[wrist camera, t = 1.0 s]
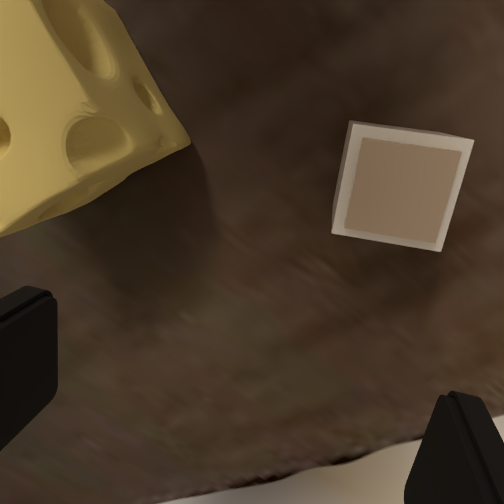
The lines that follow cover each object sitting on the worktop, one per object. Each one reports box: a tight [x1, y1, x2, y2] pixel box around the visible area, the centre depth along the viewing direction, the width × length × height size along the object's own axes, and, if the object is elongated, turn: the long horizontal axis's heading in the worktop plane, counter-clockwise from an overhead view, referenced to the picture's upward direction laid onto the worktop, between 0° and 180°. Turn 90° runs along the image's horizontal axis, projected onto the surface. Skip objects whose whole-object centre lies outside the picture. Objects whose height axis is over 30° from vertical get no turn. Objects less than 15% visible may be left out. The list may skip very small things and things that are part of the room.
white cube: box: [331, 120, 474, 252], centre depth 23 cm, size 6×6×8 cm
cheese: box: [0, 0, 191, 237], centre depth 25 cm, size 10×11×10 cm
